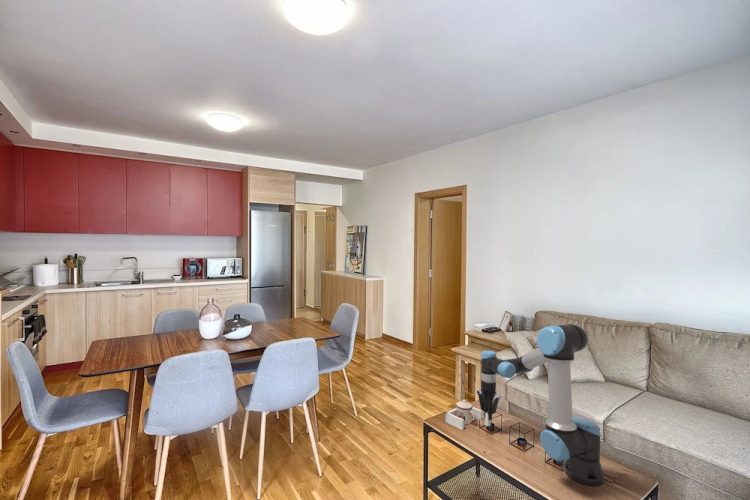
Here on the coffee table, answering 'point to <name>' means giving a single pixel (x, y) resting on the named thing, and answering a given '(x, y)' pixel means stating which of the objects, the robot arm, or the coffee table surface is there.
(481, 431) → the coffee table surface
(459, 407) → the teacup with lid
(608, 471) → the coffee table surface
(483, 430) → the coffee table surface
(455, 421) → the cradle
